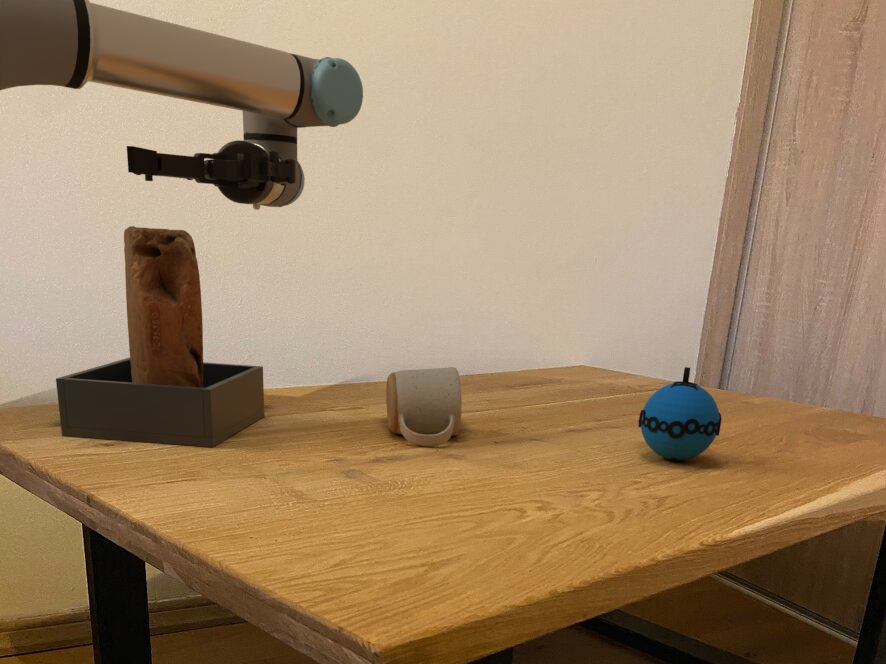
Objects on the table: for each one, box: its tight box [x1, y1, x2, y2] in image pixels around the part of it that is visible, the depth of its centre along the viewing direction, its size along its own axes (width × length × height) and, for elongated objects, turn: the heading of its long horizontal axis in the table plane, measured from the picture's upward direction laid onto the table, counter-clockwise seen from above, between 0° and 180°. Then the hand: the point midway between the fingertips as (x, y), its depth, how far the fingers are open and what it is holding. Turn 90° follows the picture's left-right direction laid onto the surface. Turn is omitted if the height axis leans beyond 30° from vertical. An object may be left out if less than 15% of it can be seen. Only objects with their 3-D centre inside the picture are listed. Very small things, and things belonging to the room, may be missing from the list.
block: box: [123, 225, 204, 388], centre depth 102 cm, size 11×8×20 cm
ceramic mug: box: [385, 366, 463, 447], centre depth 105 cm, size 11×8×8 cm
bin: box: [55, 357, 265, 448], centre depth 105 cm, size 17×18×6 cm
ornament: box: [638, 366, 722, 462], centre depth 100 cm, size 9×9×10 cm
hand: (188, 162), depth 104 cm, fingers open, 13 cm apart
